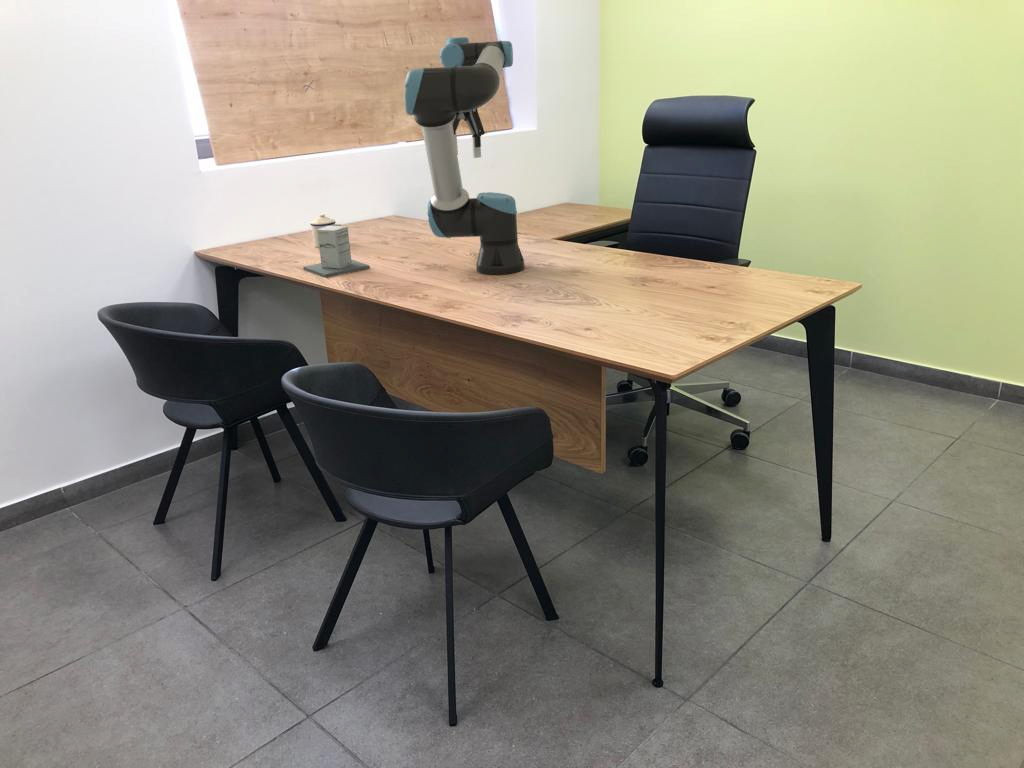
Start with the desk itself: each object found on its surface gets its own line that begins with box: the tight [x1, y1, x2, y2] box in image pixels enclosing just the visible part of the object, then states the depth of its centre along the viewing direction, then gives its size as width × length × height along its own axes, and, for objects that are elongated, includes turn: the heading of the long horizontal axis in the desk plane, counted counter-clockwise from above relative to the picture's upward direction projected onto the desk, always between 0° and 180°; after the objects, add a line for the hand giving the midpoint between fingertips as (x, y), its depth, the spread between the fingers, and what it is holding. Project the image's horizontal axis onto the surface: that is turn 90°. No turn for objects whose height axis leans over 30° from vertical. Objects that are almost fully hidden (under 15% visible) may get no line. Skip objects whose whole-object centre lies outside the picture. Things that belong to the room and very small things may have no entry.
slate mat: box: [302, 259, 370, 278], centre depth 266 cm, size 16×16×1 cm
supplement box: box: [317, 225, 352, 269], centre depth 263 cm, size 7×7×13 cm
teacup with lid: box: [310, 213, 343, 249], centre depth 301 cm, size 12×9×12 cm
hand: (465, 156), depth 271 cm, fingers open, 13 cm apart
